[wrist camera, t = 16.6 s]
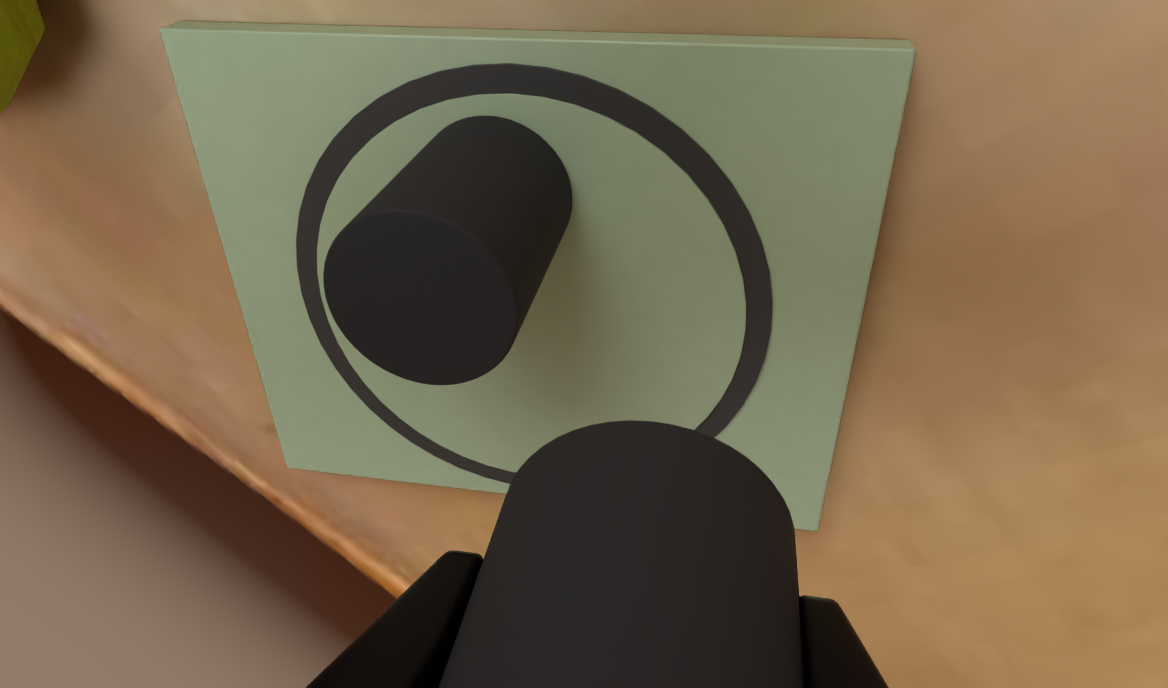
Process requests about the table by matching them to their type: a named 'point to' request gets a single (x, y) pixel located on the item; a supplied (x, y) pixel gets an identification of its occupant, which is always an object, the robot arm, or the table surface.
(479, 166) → the stamp
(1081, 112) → the table surface
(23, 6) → the fruit
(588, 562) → the stamp
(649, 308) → the board
